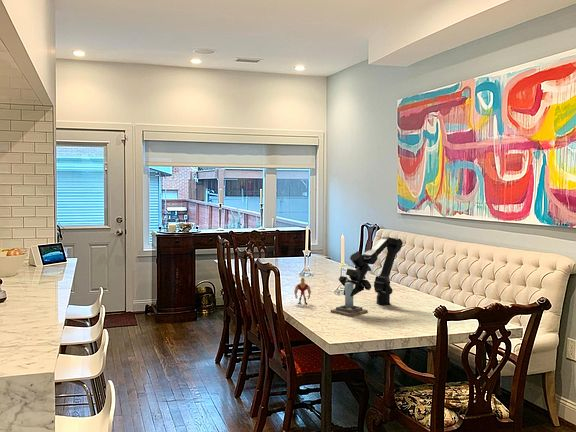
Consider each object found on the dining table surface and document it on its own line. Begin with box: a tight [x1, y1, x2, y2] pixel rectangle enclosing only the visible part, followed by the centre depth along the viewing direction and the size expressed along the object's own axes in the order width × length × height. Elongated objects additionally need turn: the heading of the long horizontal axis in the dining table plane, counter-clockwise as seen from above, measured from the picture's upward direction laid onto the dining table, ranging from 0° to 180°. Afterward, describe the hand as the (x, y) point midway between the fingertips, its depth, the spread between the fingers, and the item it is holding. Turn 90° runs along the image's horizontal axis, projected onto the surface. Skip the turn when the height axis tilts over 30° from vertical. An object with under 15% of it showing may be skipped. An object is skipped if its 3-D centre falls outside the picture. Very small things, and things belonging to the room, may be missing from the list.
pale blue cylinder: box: [344, 282, 355, 308], centre depth 303 cm, size 4×4×13 cm
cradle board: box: [330, 304, 369, 317], centre depth 303 cm, size 14×14×3 cm
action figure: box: [294, 277, 312, 305], centre depth 324 cm, size 10×4×15 cm, turn 88°
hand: (347, 295), depth 302 cm, fingers closed on pale blue cylinder, 4 cm apart
